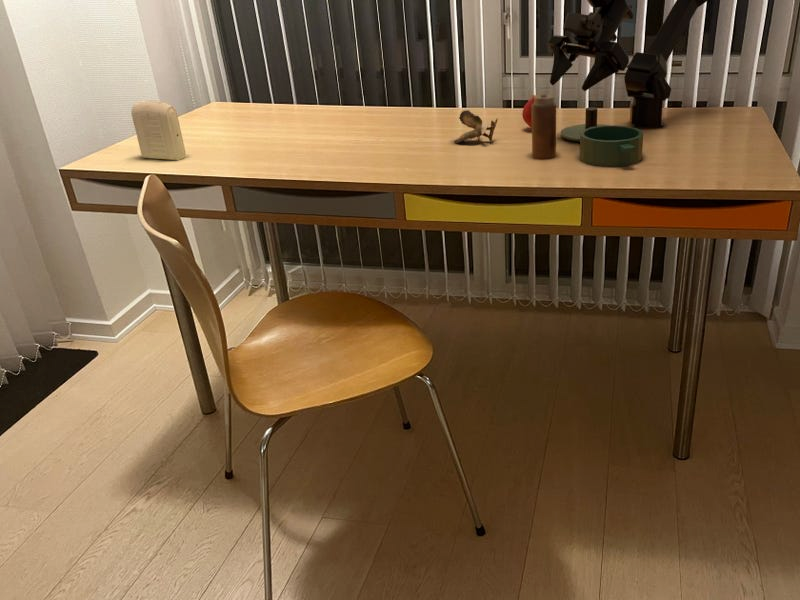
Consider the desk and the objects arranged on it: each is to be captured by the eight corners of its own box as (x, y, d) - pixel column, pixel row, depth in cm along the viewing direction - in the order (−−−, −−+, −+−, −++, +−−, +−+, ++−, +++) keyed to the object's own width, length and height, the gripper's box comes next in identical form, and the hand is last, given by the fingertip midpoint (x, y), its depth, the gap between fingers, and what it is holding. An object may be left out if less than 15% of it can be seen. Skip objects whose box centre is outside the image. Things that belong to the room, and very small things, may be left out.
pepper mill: (554, 151, 171) (555, 90, 165) (556, 158, 167) (557, 95, 160) (531, 152, 171) (530, 91, 165) (532, 159, 167) (532, 96, 160)
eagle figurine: (497, 130, 183) (459, 123, 184) (498, 108, 177) (459, 100, 178) (489, 156, 180) (451, 148, 181) (489, 134, 174) (450, 126, 175)
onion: (547, 126, 190) (547, 91, 186) (547, 132, 185) (547, 97, 181) (523, 126, 190) (522, 92, 186) (522, 133, 185) (521, 97, 181)
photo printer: (189, 155, 181) (177, 99, 174) (178, 161, 177) (164, 104, 171) (151, 153, 183) (137, 98, 177) (139, 159, 180) (124, 102, 174)
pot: (620, 143, 174) (622, 120, 172) (658, 165, 159) (659, 140, 157) (566, 149, 172) (566, 126, 169) (598, 173, 157) (599, 147, 154)
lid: (607, 126, 187) (607, 99, 184) (631, 140, 176) (632, 112, 173) (552, 132, 185) (552, 105, 182) (573, 147, 173) (573, 118, 170)
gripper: (553, -7, 167) (515, 57, 166) (622, -2, 154) (581, 67, 154) (579, 29, 175) (543, 90, 175) (646, 36, 162) (607, 102, 162)
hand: (566, 86), depth 166 cm, fingers open, 9 cm apart
